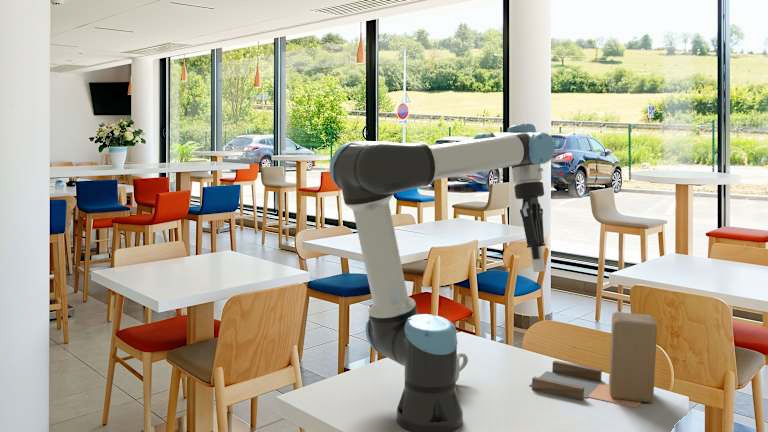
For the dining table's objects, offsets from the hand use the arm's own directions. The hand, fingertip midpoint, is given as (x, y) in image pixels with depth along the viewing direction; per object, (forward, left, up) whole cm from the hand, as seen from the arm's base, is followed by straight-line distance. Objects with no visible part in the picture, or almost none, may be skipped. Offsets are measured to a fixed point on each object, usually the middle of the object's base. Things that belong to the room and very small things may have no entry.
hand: (539, 271), depth 174 cm
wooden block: (+4, -24, -30) cm, 38 cm away
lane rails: (+2, -8, -30) cm, 31 cm away
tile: (+2, -21, -30) cm, 36 cm away
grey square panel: (+2, -8, -30) cm, 31 cm away
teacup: (-16, +19, -30) cm, 39 cm away
